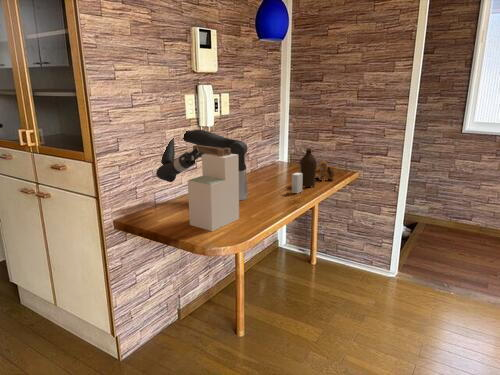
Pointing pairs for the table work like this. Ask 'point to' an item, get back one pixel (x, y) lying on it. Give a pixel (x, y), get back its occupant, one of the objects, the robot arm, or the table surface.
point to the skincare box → (297, 182)
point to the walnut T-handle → (213, 150)
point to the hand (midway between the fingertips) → (204, 148)
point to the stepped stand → (215, 192)
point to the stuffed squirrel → (325, 171)
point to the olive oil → (308, 169)
